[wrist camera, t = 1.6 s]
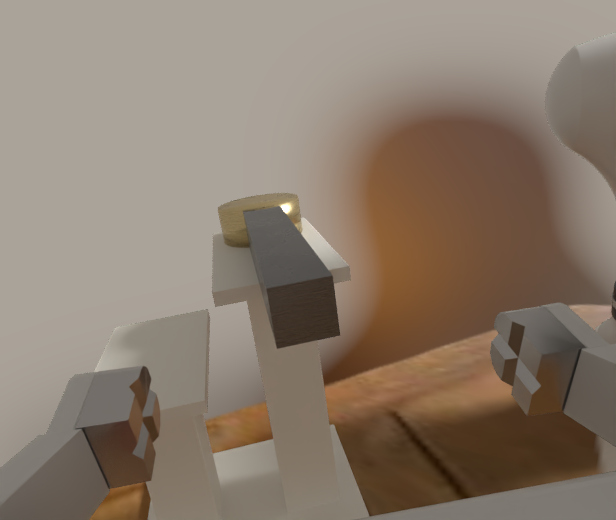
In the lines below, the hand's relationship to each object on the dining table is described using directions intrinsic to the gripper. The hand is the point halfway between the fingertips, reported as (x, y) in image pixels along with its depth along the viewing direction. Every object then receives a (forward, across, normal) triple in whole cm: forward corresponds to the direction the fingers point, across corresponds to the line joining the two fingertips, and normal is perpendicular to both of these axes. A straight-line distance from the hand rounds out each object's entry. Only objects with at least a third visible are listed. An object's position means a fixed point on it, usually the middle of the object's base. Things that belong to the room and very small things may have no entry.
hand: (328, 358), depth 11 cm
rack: (+19, +5, +36) cm, 41 cm away
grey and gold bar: (+20, 0, +9) cm, 22 cm away
